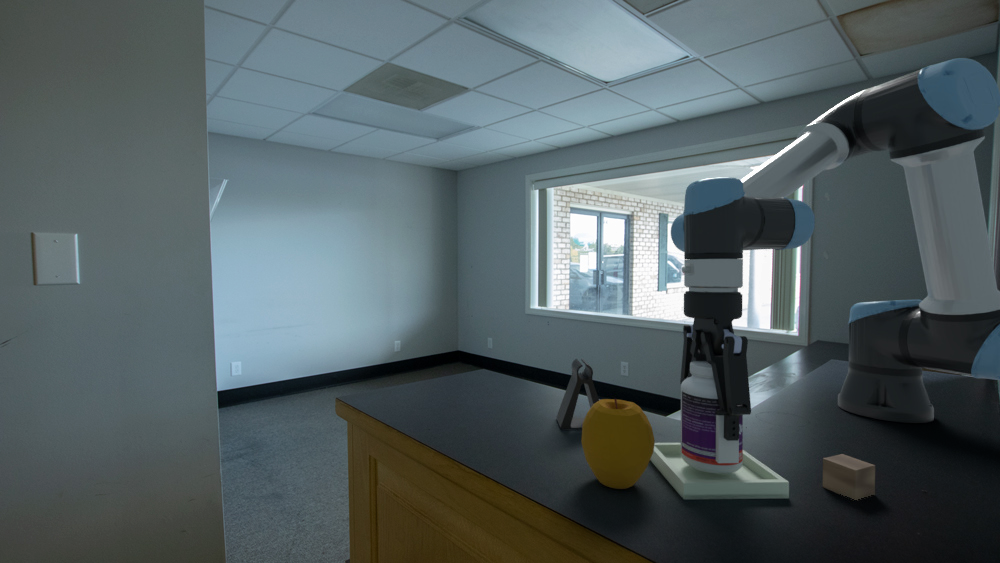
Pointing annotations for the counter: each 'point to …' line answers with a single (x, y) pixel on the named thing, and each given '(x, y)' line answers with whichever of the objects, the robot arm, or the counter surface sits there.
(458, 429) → the counter surface
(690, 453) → the pill bottle
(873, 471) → the walnut block
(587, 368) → the phone stand
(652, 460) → the tray
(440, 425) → the counter surface
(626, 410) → the apple
